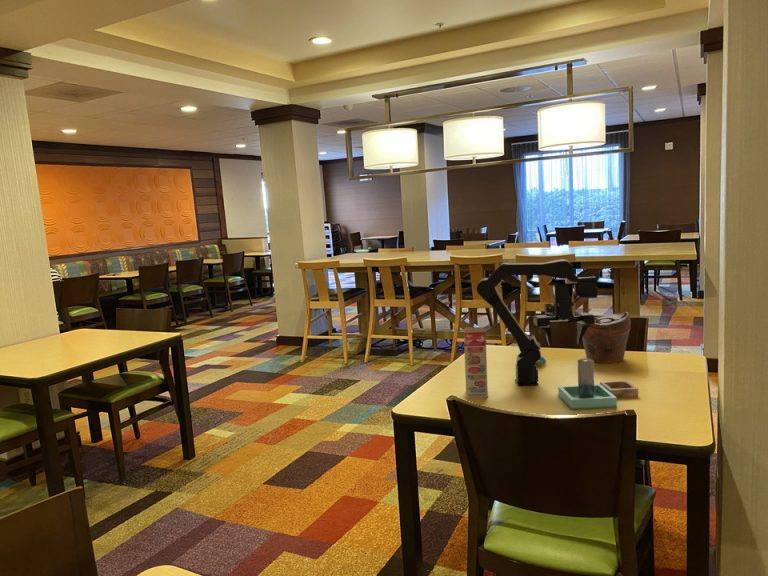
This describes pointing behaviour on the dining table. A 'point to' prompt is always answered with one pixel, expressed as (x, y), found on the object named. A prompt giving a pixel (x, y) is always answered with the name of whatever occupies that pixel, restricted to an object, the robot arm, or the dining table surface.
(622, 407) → the dining table surface
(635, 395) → the collar
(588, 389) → the strut
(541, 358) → the gear
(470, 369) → the juice carton
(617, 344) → the broken terracotta flower pot
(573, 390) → the bin
